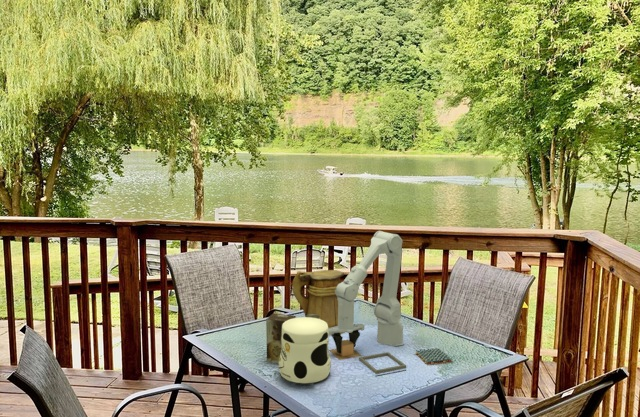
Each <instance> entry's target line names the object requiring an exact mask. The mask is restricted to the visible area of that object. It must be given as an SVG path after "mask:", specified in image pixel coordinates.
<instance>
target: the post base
mask: <svg viewBox="0 0 640 417" xmlns="http://www.w3.org/2000/svg"><path fill="white" fill-rule="evenodd" d="M328 351H329V353H331V354H332V355H334V357H335V358H337V359H338V360H339V361H342V360H346V359H352V358H353V359H354V358H359V357H362V355H361V354H360V353H359V352H357V350H355V349H354V351H353V355H348V356H341V355H340V354H339V353H338V352H337V349H336V348H334V349H328Z"/></svg>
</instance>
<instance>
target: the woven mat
mask: <svg viewBox="0 0 640 417" xmlns="http://www.w3.org/2000/svg"><path fill="white" fill-rule="evenodd" d="M415 351H416V352H415V353H414V355H416V356H417V358H420V361H422V362H424V364H426V365H427V366H433V365H441V364H450V363H453V359H452V358H451V357H450V355H448V354H446V353H445V352H444V351H442V350H441V349H440V348H437V347H434V348H431V349H429V348H427V349H419V350H418V349H415Z"/></svg>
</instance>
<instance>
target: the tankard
mask: <svg viewBox="0 0 640 417" xmlns="http://www.w3.org/2000/svg"><path fill="white" fill-rule="evenodd" d="M344 275H345V272H344V271H341V270H337V269H324V270H316V271H315V270H314V271H309V272H308V271H302V270H297V271H296V274H295V276H294V278H293V280H292V284H291V286H292V288H291V289H292V293H293V295H294V298H295V299H296V301H297V303H298V304H299V305H300V306H301V308H302V310H303V313H304V317H305V316H306V315H309V314H316V315H319V316H320V319H321V320H323V321H325V322H326V323H327V325H328V329H329V328H332V327H335V326H338V300H337V296H336V294H335V290H336V287H337V285H338V284H340V283H341V282H342V281H341V278H342V277H343V276H344ZM306 285H307V286H306ZM304 286H306V288H305V290H306V291H307V292H308V296H306V295H304V294H303V293H302V288H303V287H304ZM340 334H341V335H343V334H344V333H340Z"/></svg>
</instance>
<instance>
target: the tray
mask: <svg viewBox="0 0 640 417" xmlns="http://www.w3.org/2000/svg"><path fill="white" fill-rule="evenodd" d="M382 357H389V359H391V360H392V361H394V362H395V363H396V364H398V365H396V366H390V367H385V368H379V369H376V368H375V367H374V366H373V365H371V364H370V363H369V362H368V361H366V360H373V359H377V358H382ZM358 361H360V363H362V364H363V365H364V366H366V367H367V368H368V369H369V370H371V372H373V373H374V374H375V375H374V377H382V376H386V375H391V374H396V373H402V372H406V371H407V365H406V364H405V363H404V362H402V361H401V360H400V359H398V358H397V357H396V356H394V355H393V354H391V353H390V352H389V351H386V352H381V353H377V354H370V355H365V356H359V357H358ZM403 369H404V370H403Z"/></svg>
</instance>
